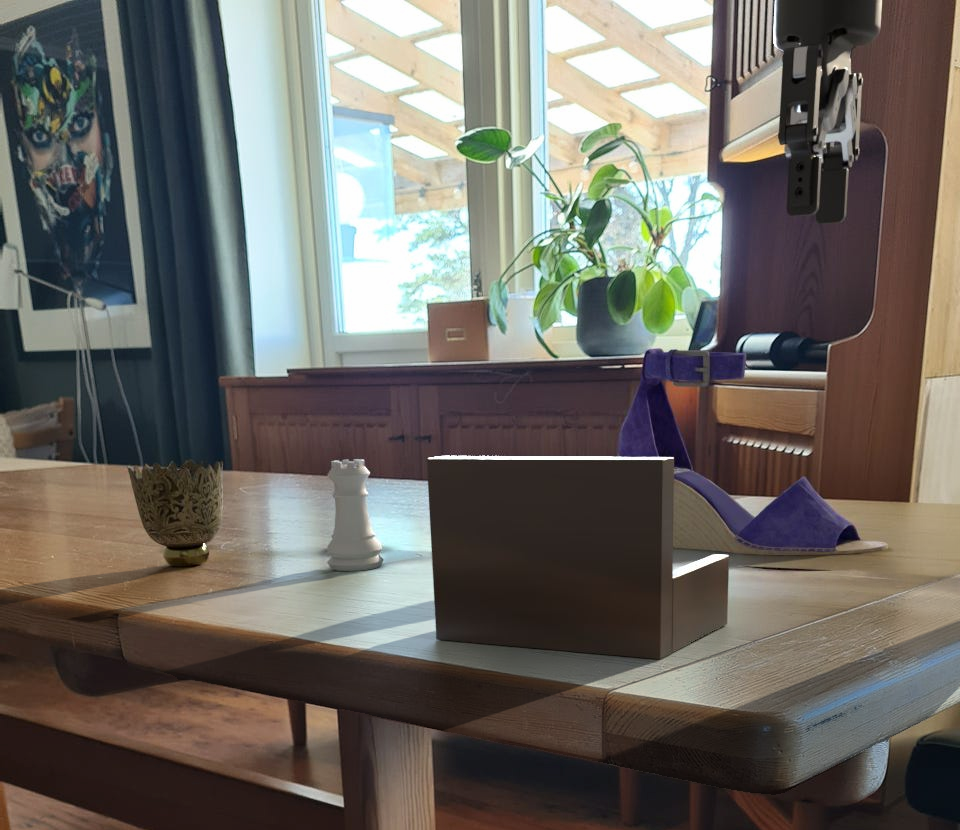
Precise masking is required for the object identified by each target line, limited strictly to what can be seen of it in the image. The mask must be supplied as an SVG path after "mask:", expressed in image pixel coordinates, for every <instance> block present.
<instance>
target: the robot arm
mask: <svg viewBox="0 0 960 830" xmlns="http://www.w3.org/2000/svg"><path fill="white" fill-rule="evenodd" d="M882 12H883V0H774V13H773V15H774V16H773V36H772V37H773V38H772V39H773V44H774V46H775V47H776V48H777V49H778V50H779V51H782V52H783V53H782V57H781V59H782V60H781V62H782V68H781V69H782V70H781V83H780V85H781V86H780V103H779V104H780V105H779V123H778V132H777V139H778V143H779V145H780V146H784V151H783V152H784V153H785V158H786V159H788V165H787V166H788V167H787V168H788V169H787V189H786V190H787V191H786V213H787V214H788V215H789V216H791V217H806V216H815V221H816V222H817V223H818V224H821V225H828V224H840V223H842V222H844V221H845V219H846V217H847V208H848V207H847V206H848V205H847V204H848V188H849V171H850V170H849V168H852V166H853V163H854V162H857V161H858V159H859V155H860V132H861V131H860V129H861V113H862V112H861V111H862V110H861V108H862V91H863V90H862V89H863V88H862V87H863V84H864V78H863V75H862V72H854V73H852V62H851V61H852V59H851V54H852V53H851V52H852V51H853V50H854V49H855V48H856V47H862V46H863V47H864V46H866V45H868V44H871V43H872V42H873V41H875V40H876V39H877V38H878V37H879V35H880V32H881V27H882V26H881V25H882ZM835 143H840V144H836V145H835Z"/></svg>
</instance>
